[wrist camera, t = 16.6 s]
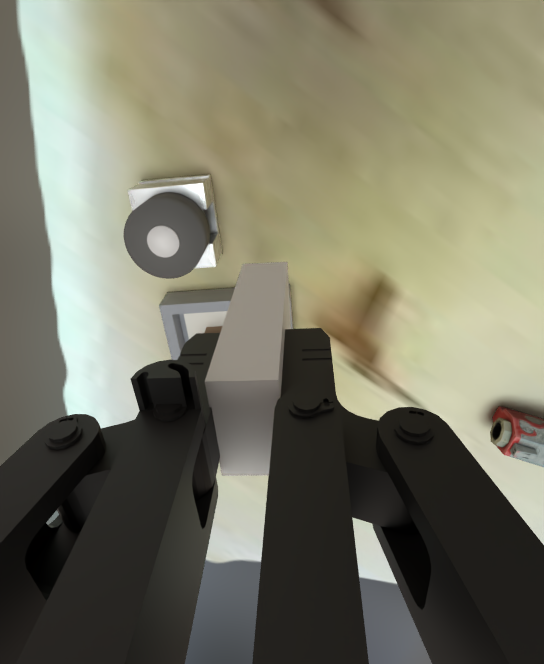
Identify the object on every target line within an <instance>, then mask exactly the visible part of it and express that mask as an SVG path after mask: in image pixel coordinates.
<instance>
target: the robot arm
mask: <svg viewBox="0 0 544 664" xmlns="http://www.w3.org/2000/svg"><path fill="white" fill-rule="evenodd" d="M131 382H132V385H133V389H134V392H135V396H136V399H137V403H138V406H139V410H140V411H139V413H138V415H137V417H136V419H135V420H132V421H129V422H126V423H123V424H118V425H114V426H110V427H106V428H102V429H101V428H100V426H99V423H98V422H97V420H96V419H95V418H94V417H92V416H89V415H86V414H73V415H69V416H65V417H61V418H59V419H57V420H55V421H52V422H50V423H49V424H47V425H46V426H45V427H43V428H42V429H40V430H39V431H38V432H37V433H35V434H34V435H33V436H32V437H31V438H30V439H29V440H28V441H27V442H26V443H25V444H24V445H22V446H21V447H20V448H19V449H18V450H17V451H16V452H15V453H14V454H13V455H12V456H11V457H10V458H8V459H7V460H6V461H5V462H4V463H3V464H2V465H1V466H0V664H185V659H186V655H187V649H188V645H189V639H190V634H191V629H192V624H193V619H194V614H195V609H196V604H197V598H198V594H199V589H200V584H201V579H202V574H203V569H204V564H205V559H206V554H207V549H208V544H209V539H210V534H211V529H212V524H213V518H214V513H215V508H216V503H217V498H218V485H217V480H216V473H217V468H218V464H219V462H220V467H221V473H222V475H269V479H268V490H267V502H266V514H265V525H264V537H263V548H262V560H261V572H260V583H259V594H258V606H257V618H256V630H255V642H254V652H253V664H369V662H368V654H367V644H366V635H365V627H364V618H363V609H362V600H361V591H360V584H359V583H360V582H359V573H358V565H357V556H356V547H355V538H354V529H353V520H352V517H353V518H356V519H360V520H363V521H366V522H369V523H372V524H373V528H374V531H375V533H376V535H377V538H378V540H379V542H380V545H381V547H382V549H383V551H384V554H385V556H386V558H387V561H388V563H389V565H390V568H391V570H392V572H393V574H394V577H395V579H396V581H397V584H398V586H399V588H400V591H401V593H402V595H403V597H404V600H405V602H406V604H407V607H408V609H409V611H410V614H411V616H412V618H413V620H414V623H415V625H416V627H417V629H418V632H419V634H420V636H421V639H422V641H423V643H424V646H425V648H426V650H427V653H428V655H429V657H430V659H431V662H432V664H544V545H543V544H542V543H541V541H540V540H539V539H538V538H537V536H536V535H535V534H534V533H533V531H532V530H531V529H530V527H529V526H528V525H527V524H526V522H525V521H524V520H523V519H522V517H521V516H520V515H519V514H518V512H517V511H516V510H515V509H514V507H513V506H512V505H511V504H510V502H509V501H508V500H507V499H506V497H505V496H504V495H503V493H502V492H501V491H500V490H499V488H498V487H497V486H496V485H495V483H494V482H493V481H492V480H491V478H490V477H489V476H488V475H487V473H486V472H485V471H484V470H483V468H482V467H481V466H480V464H479V463H478V462H477V461H476V459H475V458H474V457H473V456H472V454H471V453H470V452H469V451H468V449H467V448H466V447H465V446H464V444H463V443H462V442H461V441H460V439H459V438H458V437H457V436H456V434H455V433H454V432H453V430H452V429H451V428H450V427H449V425H448V424H447V423H446V422H445V421H443V420H442V419H441V418H440V417H439V416H438V415H436V414H433V413H431V412H429V411H427V410H424V409H419V408H414V407H401V408H396V409H393V410H390V411H387V412H386V413H385V414H384V415H383V416H382V417H381V418H380V420H379V421H377V420H372V419H368V418H364V417H361V416H357V415H355V414H353V413H351V412H349V411H348V410H346V409H345V408H344V407H343V406H342V405H341V404H340V403H339V401H338V400H337V396H336V391H335V382H334V373H333V364H332V355H331V345H330V337H329V336H328V335H327V334H326V333H325V332H324V331H323V330H322V329H321V328H310V329H291V317H290V299H289V281H288V263H287V262H271V263H249V264H243V265H242V268H241V271H240V274H239V277H238V280H237V283H236V286H235V289H234V292H233V295H232V299H231V302H230V305H229V308H228V311H227V314H226V317H225V320H224V323H223V326H222V329H221V333H196V334H195V335H194V336H193V337H191V338H190V339H189V340H188V341H187V342H186V343H185V344H184V346H183V348H182V350H181V353H180V356H179V357H178V359H177V360H165V361H158V362H156V363H153V364H150V365H147V366H145V367H144V368H142V369H140V370H139V371H137V372H136V373H135V374H134V376H133V377H132V378H131ZM56 510H57V511H58V513H59V516H58V517H57V518H56V519H55V520H54V521H53V522H52V523H50V524H49V525H47V524H46V522H47V521H48V520H49V518H50V517H51V516H52V515H53V514H54V512H55V511H56Z"/></svg>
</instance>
